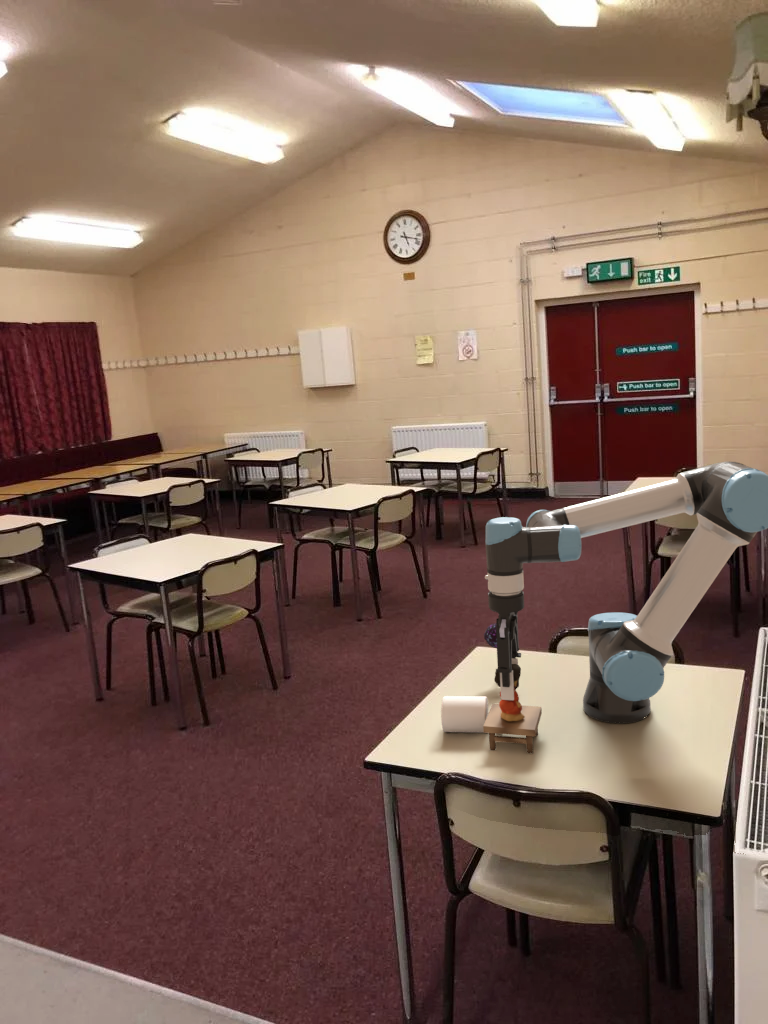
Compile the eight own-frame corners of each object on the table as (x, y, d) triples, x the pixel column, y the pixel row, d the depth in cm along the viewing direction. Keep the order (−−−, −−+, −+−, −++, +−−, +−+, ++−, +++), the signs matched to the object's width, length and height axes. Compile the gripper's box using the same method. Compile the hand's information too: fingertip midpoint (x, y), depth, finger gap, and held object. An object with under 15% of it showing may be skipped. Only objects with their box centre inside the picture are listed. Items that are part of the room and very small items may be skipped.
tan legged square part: (542, 731, 178) (541, 706, 177) (536, 756, 168) (534, 729, 167) (493, 727, 181) (492, 703, 180) (484, 751, 171) (483, 726, 170)
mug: (486, 739, 177) (484, 706, 175) (442, 738, 179) (440, 705, 177) (490, 714, 188) (488, 683, 187) (448, 714, 190) (446, 683, 189)
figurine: (521, 724, 169) (517, 670, 167) (496, 722, 171) (491, 669, 169) (528, 712, 174) (524, 660, 173) (503, 710, 177) (499, 659, 175)
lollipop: (486, 672, 212) (483, 619, 209) (512, 672, 211) (509, 618, 208) (486, 683, 205) (483, 628, 202) (513, 683, 204) (510, 628, 201)
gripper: (496, 577, 178) (500, 674, 182) (479, 604, 160) (484, 710, 165) (529, 578, 175) (533, 676, 180) (516, 605, 158) (520, 713, 162)
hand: (510, 692), depth 172 cm, fingers closed on figurine, 6 cm apart
